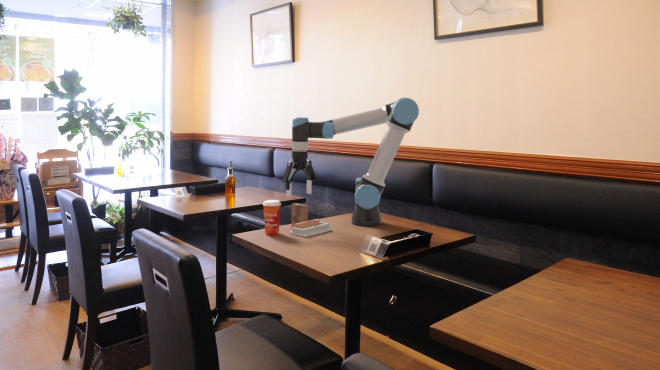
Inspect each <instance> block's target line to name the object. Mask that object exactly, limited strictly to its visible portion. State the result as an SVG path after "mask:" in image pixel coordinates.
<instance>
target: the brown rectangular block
mask: <svg viewBox="0 0 660 370" xmlns="http://www.w3.org/2000/svg"><path fill="white" fill-rule="evenodd" d="M305 221H309V205H307V204H302V203H297V202H295V203H292V204H291V228H293V227H294V224H296V223H301V222H305Z"/></svg>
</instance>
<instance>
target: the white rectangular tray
mask: <svg viewBox="0 0 660 370" xmlns="http://www.w3.org/2000/svg"><path fill="white" fill-rule="evenodd" d="M331 231H333V227H330V223H329V222H323V221H320V218H315V219H311V220H308V221H305V222H301V223H296V224H294V227H291V230H289V234H290V235H295V236H298V237H303V238H309V237H312V236H317V235H320V234H323V233H327V232H331Z"/></svg>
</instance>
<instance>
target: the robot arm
mask: <svg viewBox="0 0 660 370" xmlns="http://www.w3.org/2000/svg"><path fill="white" fill-rule="evenodd" d="M419 113H420V108H419V106H418V104H417V102H416V101H415V100H414V99H412V98H410V97H400V98H398V99H397V100H395V101H394V102H391V103H388V104H384V105H383V106H382V107H380V108H376V109H372V110H367V111H363V112H360V113H355V114H351V115H346V116H343V117H341V116H340V117H338V118H334V119H328V120H324V121H319V122H318V121H317V122H315V121H314V122H313V121H310V120H309V117H299V116H298V117H293V118H292V125H291V149H292V150H291V159H292V161H290V160H289V161H288V160H287V164H286V168H285V171H284V174H283V177H282V179H281V181H282V182H283V183H285V191H286V194H285V195H286V197H287V198H292V191H293V190H292V189H293V187H292V186H293V185H292V180H293V178H294V177H295V175H296V174H297V172H299V171H303V172H302V173H304V175H305V177H306V178H307V179H306V194H308V195H312V193H313V181H315V179H316V178H317V176H316V173H315V171H314V168H313V164H312V163H313V162H312V160H310V159H309V158H308V157H309V152H308V150H309V139H322V140H323V139H325V140H329V139H333V138H334V136H336V135H341V134H345V133H349V132H352V131H353V132H354V131H356V130H361V129H365V128H371V127H375V126H379V125H383V124H387V127H386V130H385V131H384V134H383V137H382V139H381V141H380V144H379V146H378V148H377V150H376V153H375V154H374V157H373V159H372V160H371V161H372V162H371V164H370V167H369V168H368V170H367V173H365V174H363V175H362V176H361V177H357V178H355V193H354V200H355V204H354V205H355V206H354V210H353V213H352V216H351V224H353V225H356V226H363V227H375V226H380V225H382V222H383V221H382V215H381V212H380V209H379V205H380V204H379V203H380V201H381V196H382V194H383V192H384V190H385V188H386V184H385V179H386V177H387V175H388V172H389V170H390V168H391V167H392V164H393V162H394V159H395V157H396V155H397V152H398V151H399V148H400V146H401V144H402V141H403V139H404V137H405V135H406V134H407V133H409V132H411V130H412V127H413V125H414V122H415V121H417V119H418V116H419Z"/></svg>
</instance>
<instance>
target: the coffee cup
mask: <svg viewBox="0 0 660 370" xmlns="http://www.w3.org/2000/svg"><path fill="white" fill-rule="evenodd" d="M262 206H263V217H264V218H263V221H264V233H265V235H266V236H277V235H279V233H280V220H281V206H282V203H281V201H280V200H278V199H267V200H264V201H263V203H262Z"/></svg>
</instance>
